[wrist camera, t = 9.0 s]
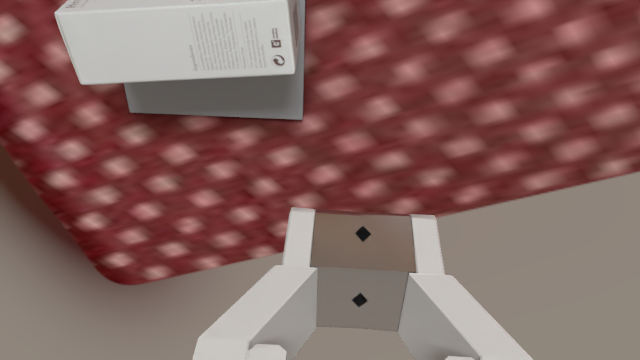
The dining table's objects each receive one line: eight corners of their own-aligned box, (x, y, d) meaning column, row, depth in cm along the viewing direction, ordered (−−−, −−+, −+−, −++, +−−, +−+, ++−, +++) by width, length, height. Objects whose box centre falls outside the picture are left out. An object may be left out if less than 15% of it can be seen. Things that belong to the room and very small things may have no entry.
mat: (307, -105, 30) (306, -102, 29) (302, 115, 38) (302, 119, 38) (85, -115, 29) (82, -113, 29) (131, 108, 38) (129, 112, 38)
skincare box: (289, -3, 27) (50, 13, 27) (297, 76, 29) (79, 89, 30) (294, -41, 31) (91, -26, 32) (301, 30, 34) (113, 42, 35)
